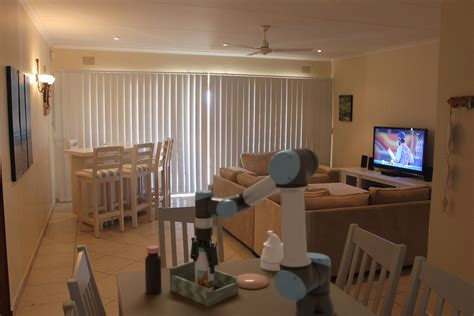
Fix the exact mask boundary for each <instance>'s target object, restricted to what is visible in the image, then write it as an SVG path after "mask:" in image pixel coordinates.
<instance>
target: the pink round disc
mask: <svg viewBox="0 0 474 316" xmlns="http://www.w3.org/2000/svg"><path fill="white" fill-rule="evenodd" d="M236 277H237V282H239V288H241V289H247V290H257V289H263V288H265V287H266V286H268V284H269V280H268V279H269V278H268V277H266V276H265V275H263V274H259V273H243V274H239V275H237V276H236Z"/></svg>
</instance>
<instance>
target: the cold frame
mask: <svg viewBox="0 0 474 316" xmlns="http://www.w3.org/2000/svg"><path fill="white" fill-rule="evenodd" d="M169 278H170V279H169V280H170V281H169V283H170V284H169V285H170V286H169V288H170V289H169V290H170V291H171V292H174V293H176V294H179V295H181V296H183V297H186V298H187V299H190V300H192V301H194V302H196V303H200V304H202V305H203V306H207V307H211V306H213V305H215V304H218V303H219V302H222V301H224V300H226V299H229V298H231V297H233V296H235V295H238V294H239V292H240V291H239V288H240V287H239V282H237V276H235V275H232V274H229V273H226V272H223V271H221V270H217V269H215V272H214V280H213V287H214V286H215V287H218V288H217V289H215V290H213V291H212V292H210V293H208V288H206V287H204V286H201V285H198V284H196V283H195V268H194V261H193V260H191V261H188V262H185V263H182V264H178V265H175V266H173V267H170V268H169Z"/></svg>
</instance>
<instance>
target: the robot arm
mask: <svg viewBox="0 0 474 316" xmlns="http://www.w3.org/2000/svg"><path fill="white" fill-rule="evenodd" d="M319 167H320V159H319V157H318V155H317V154H316V152H314V151H313V150H312V149H310V148H307V147H301V148H300V147H299V148H292V149H283V150H279V151H277V152H276V153H274V155H273V156H272V157H271V158H270V161H269V162H268V173H269V175H267V176H265V177H263V178H262V179H260V180H258V181H257V182H255V183H254V184H252V185H251V186H249V187H247V188H246V189H244V190H243V191H241V192H239V193H237V194H233V195H230V196H225V197H224V196H223V197H215V196H214V195H213V191H212V190H210V189H202V190H197V191H195V194H194V226H195V228H194V235H195V236H193V237H191V246H190V247H191V248H190V259H191V260H192V261H194V268H195V265H196V261H197V259H198V257H199V247H202V248H204V251H205V252H206V255H207V259H208V263H209V266H208V281H209V282H210V281H212V280H214V272H215V270H216V269H215V266H218V265H219V259H218V249H217V247H218V243H217V241H213V239H212V236H213V235H214V230H213V228H214V227H213V216H216V217H220V218H224V219H226V218H227V219H231V218H233V217H234V216H235V215H236V214H237V213H241V212H246V211H248V210H251V209H252V208H253V207H254V206H255V205H256V204H258V203H260V202H262V201H263V200H266V199H267V198H269V197H270V196H273V195H274V194H276V193H278V192H279V195H280V196H279V197H280V198H279V199H280V217H281V236H282V237H281V238H282V240H281V241H282V243H283V258H282V259H281V260H280V261H279V264H280V271H277V273H276V274H275V276H274V282H273V283H274V287H275V289H276V291H277V293H278V294H279V295H280V296H281V297H282V298H283V299H284V300H286V301H289V302H295V305H294V312H295V314H296V315H297V316H335V306H334V303H333V300H332V299H333V298H332V296H331V275H332V273H331V272H332V263H331V262H332V260H331V258H330V257H329V256H328V255H326V254H323V253H319V252H307V250H308V249H307V228H306V207H305V205H306V204H305V190H306V189H307V188H309V181H308V179H309V178H311V177H313V176H314V175H316V174H317V172H318V170H319ZM207 248H208V249H207Z"/></svg>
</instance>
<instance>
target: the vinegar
mask: <svg viewBox="0 0 474 316" xmlns="http://www.w3.org/2000/svg"><path fill="white" fill-rule="evenodd" d="M146 252H147V253H146V254H147V255H146V256H145V258H144V266H145V267H144V268H145V269H144V271H145V272H144V273H145V274H144V275H145V293H146V294H147V295H158V294H160V293H162V257H161V256H160V255H159V252H160V247H159V245H156V244H155V245H148V246H146Z"/></svg>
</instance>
